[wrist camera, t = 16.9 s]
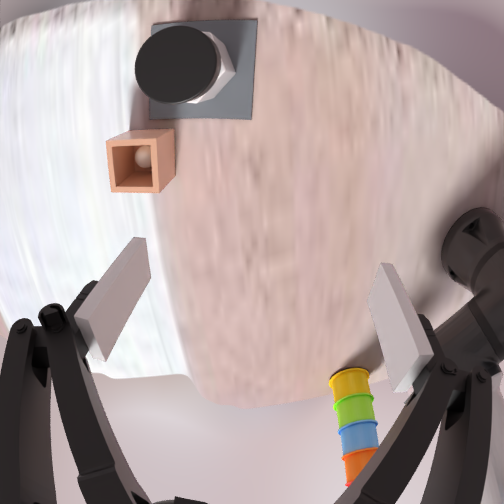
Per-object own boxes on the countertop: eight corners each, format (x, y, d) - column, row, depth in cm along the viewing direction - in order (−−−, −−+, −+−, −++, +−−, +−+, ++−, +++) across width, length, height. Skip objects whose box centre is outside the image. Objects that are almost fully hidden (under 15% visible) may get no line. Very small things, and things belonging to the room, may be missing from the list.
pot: (174, 128, 37) (156, 138, 31) (175, 175, 41) (159, 193, 35) (129, 130, 37) (105, 140, 31) (132, 175, 41) (111, 192, 35)
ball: (160, 142, 38) (152, 147, 35) (161, 164, 39) (153, 170, 37) (139, 143, 38) (130, 148, 35) (141, 164, 40) (132, 171, 37)
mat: (257, 20, 29) (257, 20, 28) (251, 119, 36) (250, 119, 36) (152, 26, 29) (151, 25, 29) (150, 119, 36) (149, 119, 36)
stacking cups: (375, 366, 62) (400, 500, 33) (360, 388, 68) (376, 509, 39) (336, 365, 62) (351, 510, 33) (323, 388, 68) (331, 516, 39)
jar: (200, 27, 29) (171, 7, 19) (248, 61, 32) (238, 52, 21) (158, 78, 33) (116, 80, 23) (203, 111, 35) (176, 124, 25)
